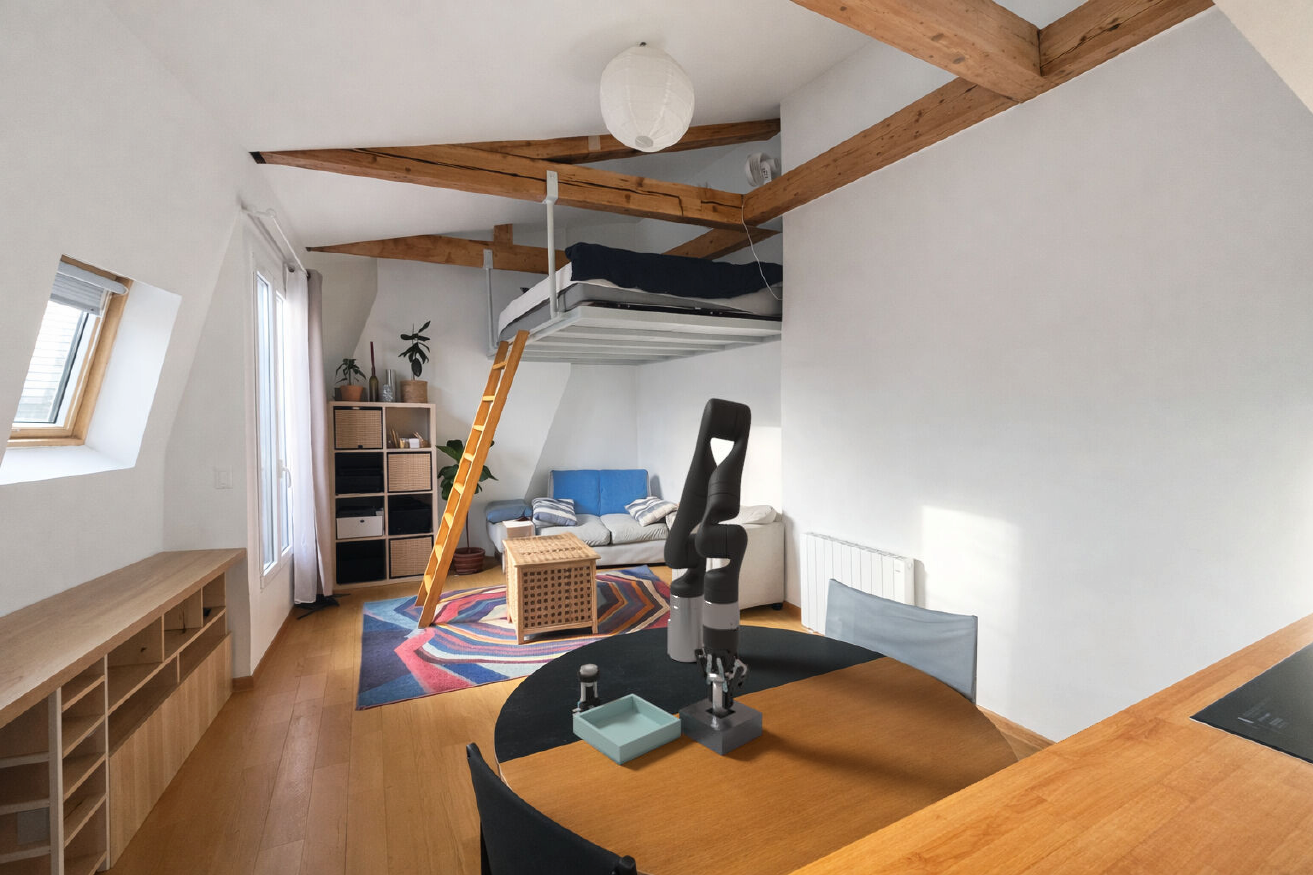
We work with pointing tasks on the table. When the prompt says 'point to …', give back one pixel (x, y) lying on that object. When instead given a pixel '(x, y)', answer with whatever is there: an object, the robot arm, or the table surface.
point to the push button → (588, 687)
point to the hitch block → (720, 725)
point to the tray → (626, 728)
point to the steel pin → (718, 694)
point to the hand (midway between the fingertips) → (720, 704)
